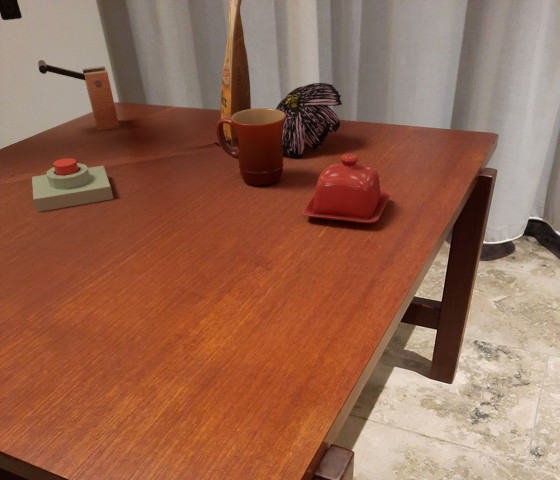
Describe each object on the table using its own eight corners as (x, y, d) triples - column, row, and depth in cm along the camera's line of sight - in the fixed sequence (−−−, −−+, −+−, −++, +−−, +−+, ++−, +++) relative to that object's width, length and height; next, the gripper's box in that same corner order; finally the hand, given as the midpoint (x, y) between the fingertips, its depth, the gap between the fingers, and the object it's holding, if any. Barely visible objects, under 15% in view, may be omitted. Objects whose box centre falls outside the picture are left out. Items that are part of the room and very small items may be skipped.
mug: (295, 172, 96) (293, 110, 90) (276, 192, 90) (273, 126, 84) (233, 165, 100) (227, 104, 93) (210, 183, 94) (203, 120, 87)
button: (57, 178, 89) (53, 167, 88) (55, 170, 91) (52, 160, 90) (79, 174, 90) (76, 164, 89) (78, 167, 92) (75, 156, 91)
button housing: (37, 212, 88) (29, 188, 85) (36, 189, 95) (28, 166, 92) (113, 199, 91) (107, 175, 88) (106, 177, 98) (100, 154, 95)
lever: (38, 75, 104) (39, 61, 103) (37, 69, 108) (38, 56, 107) (104, 91, 110) (106, 78, 109) (102, 85, 113) (103, 72, 112)
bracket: (81, 143, 112) (64, 79, 104) (77, 129, 119) (61, 68, 111) (140, 134, 115) (128, 71, 107) (133, 121, 122) (121, 61, 114)
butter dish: (321, 192, 90) (321, 138, 84) (391, 199, 87) (397, 144, 81) (299, 222, 82) (298, 165, 76) (376, 232, 79) (381, 173, 73)
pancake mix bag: (258, 117, 121) (249, -42, 102) (254, 148, 106) (242, -31, 88) (228, 118, 121) (213, -41, 103) (219, 149, 107) (200, -30, 88)
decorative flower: (247, 88, 103) (322, 55, 102) (263, 139, 113) (332, 110, 112) (269, 133, 95) (350, 98, 94) (285, 184, 105) (358, 152, 104)
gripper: (-52, -114, 90) (-12, 10, 101) (-59, -117, 78) (-12, 25, 89) (-4, -116, 92) (31, 6, 103) (-3, -119, 80) (37, 20, 91)
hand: (11, 15), depth 96 cm, fingers open, 9 cm apart
